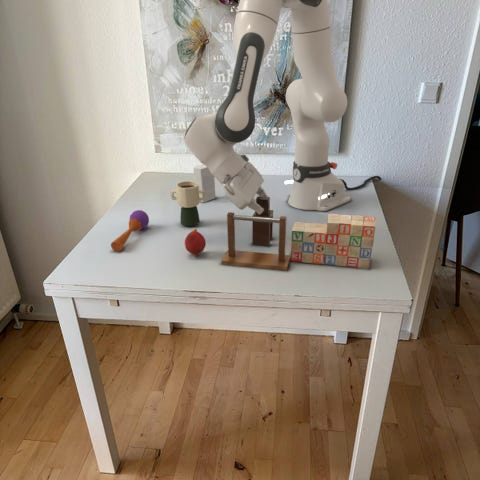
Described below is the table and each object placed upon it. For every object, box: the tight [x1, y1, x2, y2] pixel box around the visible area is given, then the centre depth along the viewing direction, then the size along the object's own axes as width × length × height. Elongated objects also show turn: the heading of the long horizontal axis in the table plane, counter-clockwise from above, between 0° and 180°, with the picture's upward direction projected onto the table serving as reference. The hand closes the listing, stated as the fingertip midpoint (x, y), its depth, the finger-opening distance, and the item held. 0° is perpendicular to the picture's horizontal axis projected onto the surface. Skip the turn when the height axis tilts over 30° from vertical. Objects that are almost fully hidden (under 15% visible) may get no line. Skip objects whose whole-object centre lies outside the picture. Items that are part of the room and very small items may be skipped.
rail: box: [221, 211, 291, 272], centre depth 131 cm, size 18×7×14 cm, turn 76°
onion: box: [184, 228, 207, 256], centre depth 136 cm, size 6×6×8 cm
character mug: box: [170, 180, 205, 227], centre depth 154 cm, size 11×7×13 cm, turn 84°
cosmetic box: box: [193, 163, 216, 204], centre depth 173 cm, size 6×4×12 cm
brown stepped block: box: [251, 195, 274, 247], centre depth 142 cm, size 6×5×14 cm
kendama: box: [110, 209, 150, 253], centre depth 148 cm, size 6×6×20 cm
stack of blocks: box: [290, 213, 376, 270], centre depth 131 cm, size 21×6×12 cm, turn 77°
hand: (264, 206), depth 139 cm, fingers open, 7 cm apart
